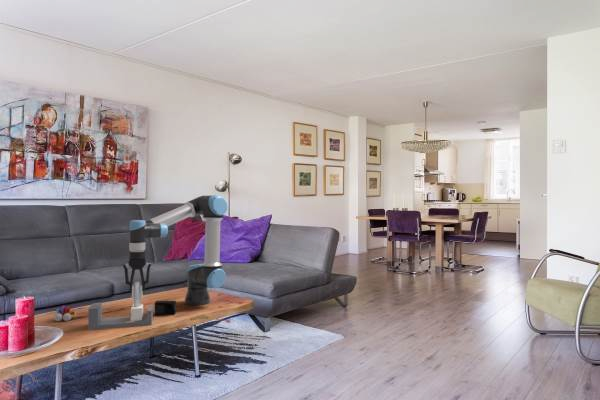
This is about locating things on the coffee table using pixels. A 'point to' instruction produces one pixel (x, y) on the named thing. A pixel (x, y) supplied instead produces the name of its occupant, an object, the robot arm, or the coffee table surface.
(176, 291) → the coffee table surface
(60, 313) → the rainbow disc rattle
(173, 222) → the robot arm
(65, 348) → the coffee table surface
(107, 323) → the bench clamp
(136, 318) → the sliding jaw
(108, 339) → the coffee table surface
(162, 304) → the digital camera
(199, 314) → the coffee table surface
